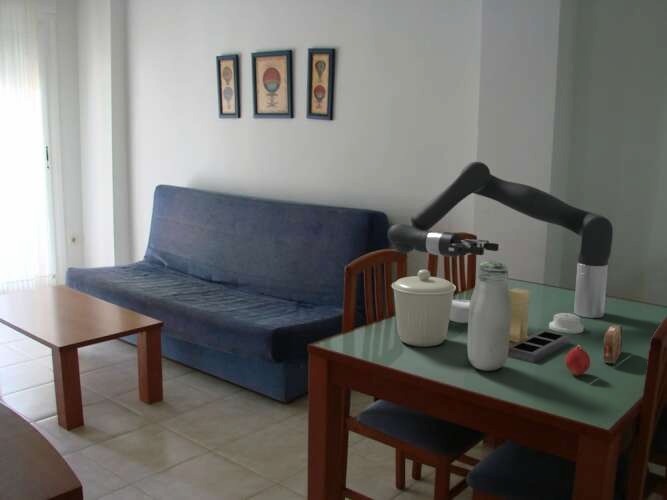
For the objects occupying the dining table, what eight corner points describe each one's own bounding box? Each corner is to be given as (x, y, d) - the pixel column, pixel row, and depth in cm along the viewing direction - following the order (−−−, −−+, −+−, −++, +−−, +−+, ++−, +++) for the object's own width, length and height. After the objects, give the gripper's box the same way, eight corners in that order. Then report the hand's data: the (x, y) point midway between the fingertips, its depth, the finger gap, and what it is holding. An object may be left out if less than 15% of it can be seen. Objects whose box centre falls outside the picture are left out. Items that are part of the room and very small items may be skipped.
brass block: (505, 337, 187) (508, 290, 184) (512, 333, 190) (515, 288, 188) (519, 340, 184) (522, 293, 181) (526, 337, 187) (529, 290, 185)
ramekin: (478, 315, 211) (478, 299, 210) (483, 325, 200) (484, 308, 200) (443, 314, 212) (444, 298, 211) (447, 324, 201) (447, 307, 200)
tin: (613, 368, 164) (615, 337, 162) (600, 366, 165) (602, 335, 164) (622, 352, 176) (624, 322, 175) (609, 349, 178) (612, 320, 176)
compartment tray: (533, 363, 167) (533, 354, 166) (505, 356, 172) (505, 347, 172) (569, 344, 182) (569, 335, 182) (542, 337, 188) (543, 329, 187)
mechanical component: (551, 333, 193) (586, 335, 191) (552, 319, 192) (587, 321, 190) (546, 323, 203) (580, 325, 201) (547, 310, 202) (581, 312, 200)
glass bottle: (483, 378, 156) (488, 266, 151) (459, 364, 166) (463, 258, 161) (515, 372, 160) (522, 263, 155) (490, 359, 169) (495, 255, 164)
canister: (416, 328, 197) (418, 260, 193) (466, 341, 184) (469, 270, 180) (377, 341, 184) (378, 269, 180) (427, 356, 172) (430, 280, 168)
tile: (499, 338, 187) (499, 337, 187) (511, 333, 192) (511, 332, 192) (521, 344, 182) (521, 342, 182) (533, 338, 187) (533, 337, 187)
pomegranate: (560, 371, 161) (562, 341, 160) (582, 371, 162) (584, 340, 160) (570, 380, 156) (572, 349, 154) (593, 380, 156) (595, 348, 155)
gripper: (431, 234, 194) (478, 240, 183) (456, 229, 204) (503, 233, 193) (430, 259, 195) (478, 265, 184) (456, 252, 205) (502, 258, 195)
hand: (490, 249), depth 189 cm, fingers open, 8 cm apart
